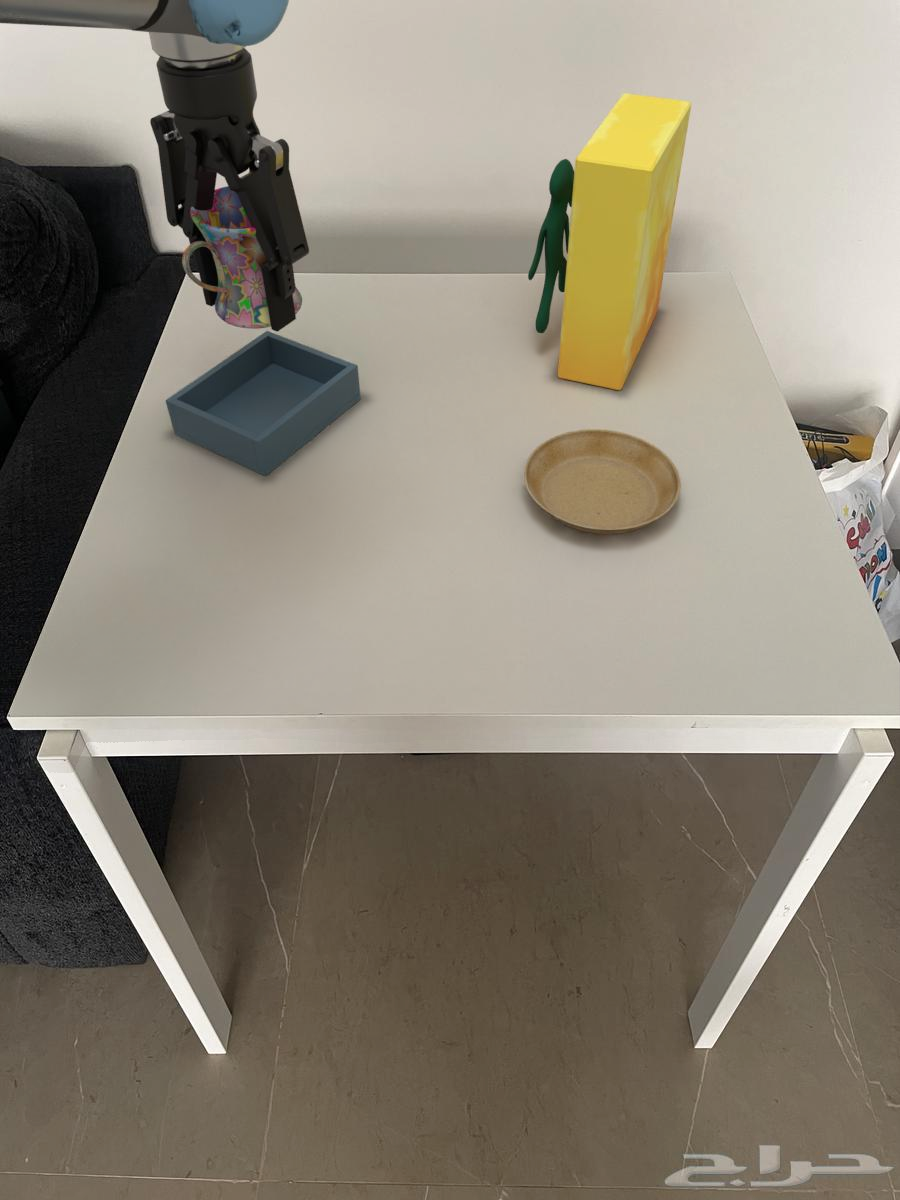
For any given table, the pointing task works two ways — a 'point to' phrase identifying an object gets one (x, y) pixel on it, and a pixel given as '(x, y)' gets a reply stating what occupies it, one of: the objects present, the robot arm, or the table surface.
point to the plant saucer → (602, 480)
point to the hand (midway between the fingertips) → (250, 311)
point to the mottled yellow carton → (612, 237)
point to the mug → (233, 262)
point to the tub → (264, 401)
